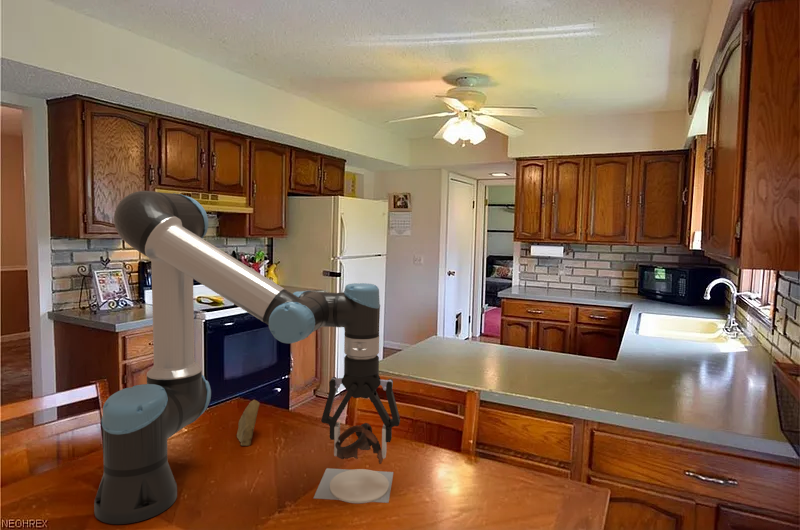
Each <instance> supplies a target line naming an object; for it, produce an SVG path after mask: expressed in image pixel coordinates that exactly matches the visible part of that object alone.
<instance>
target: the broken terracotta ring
mask: <svg viewBox="0 0 800 530" xmlns="http://www.w3.org/2000/svg"><path fill="white" fill-rule="evenodd" d="M353 434H355V435H356V437H357V439H356V440H355V441H354V442H352V443H351V444H349V445H347V446H342V445H343V443H344V441H345V440H346V439H347V438H348V437H350V436H351V435H353ZM338 439H339V440H340V442H339V441H337V442H336V444H335V446H336V448H337V456H336V457H337V458H338V459H340V460H344V459H345V460H347V459H351V458H354V459H356V460H358V459H359V457H358V451H359V450H361V451H370V450H371V449H372V453H373V454H376V458H377V460H378V464H380V465H381V464H382V463H383V460H384V458H382V446H381V444H380V441H379V439H378V437H377V436H376V435H375V434H374V432H373V428H372V426H371V424H370V423H367V422H365V423H361V424H357V425H352V426H351V427H349V428H347V429H345V430H344V431H343V432H342V433H340V436H339V437H338Z"/></svg>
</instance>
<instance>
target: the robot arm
mask: <svg viewBox="0 0 800 530" xmlns="http://www.w3.org/2000/svg"><path fill="white" fill-rule="evenodd" d="M118 202H119V203H118V204H117V205H116V207H115V210H114V215H113V224H114V227H115V230H116V232H117V234H118V235H119V237H120V238H121V239H122V240H123V241H124V242H125V244H127V245H128V246H129V247H131V248H133V249H135V251H137V252H139V253H140V254H142V255H144V256H146V257H147V258H148V259H149V260H150V262H151V264H150V266H151V300H152V308H151V309H152V338H153V339H152V340H153V341H152V342H153V343H152V344H153V348H152V349H153V366H152V367H151V368H150V369H149V370H148V371H147V372H146V383H142V384H136V385H133V386H131V387H126V388H122V389H119V390H118V391H116V392H114V393H113V394H111V395H110V396H109V397H108V398H107V399H106V401H104V404H103V406H102V416H101V420H100V421H101V430H102V458H103V461H102V463H103V475H102V477H101V480H100V483H99V486H98V488H97V489H98V490H97V492H96V495H95V498H94V501H93V502H94V504H93V505H94V506H93V507H94V509H93V510H94V511H93V512H94V516H95V517H94V518H96V519H97V520H98V521H100V522H102V523H105V524H110V525H126V524H134V523H138V522H142V521H145V520H149V519H151V518H155V517H156V516H158V515H160V514H162V513H163V512H165V511H166V510H168V509H169V508H170V507H171V506H173V505H174V503H175V502H176V500H177V498H178V485H177V482H176V479H175V476H174V475H173V471H172V469H171V466H170V464H169V462H168V461H169V460H168V439H170V438H172V436H175V434H177V433H178V432H180V431H181V430H182V429H183V428H185V427H187V426H188V425H191V424H192V423H195V421H197V420H198V419H199V418H200V417H201V416H202V415H203V414H204V413H205V411H206V410H207V409H208V406H209V404H210V402H211V397H212V389H211V385H210V382H209V381H208V380H206V376H204V374H203V373H202V372H203V369H202V367H201V365H200V364H198V363H197V362H195V361H196V360H195V320H194V319H195V318H194V316H195V315H194V314H195V311H194V308H195V307H194V305H195V304H194V281H196V282H198V283H199V284H201V285H203V286H205V287H206V288H208V289H209V290H211V291H213V292H214V293H215V294H217V295H219V296H220V297H222V298H224V299H225V300H227V301H229V302H230V303H232V304H233V305H235V306H237V307H239V308H240V309H241V310H243V311H245V312H247V313H248V314H250V315H251V316H253V317H255V318H256V319H257V320H260V321H261V322H263V323H265V324H266V325H268V329H269V331H270V333H271V334H272V336H273V338H274V339H276V340H277V341H279V342H280V343H283V344H294V343H295V344H296V343H298V342H300V341H303V340H305V339H306V338H308V337H310V335H311V334H312V333H314V332H316V331H317V330H319V329H320V328H322V327H324V328H328V327H329V328H343V329H344V343H343V344H344V349H343V350H344V351H343V352H344V354H345V356H344V357H343V358H344V359H343V361H344V362H343V366H344V367H343V377H339V378H338V377H336V376H332V377H331V379H330V380H329V381H328V382H329V383H328V384H329V392H328V396H327V399H326V401H325V402H326V403H325V406H324V409H323V413H322V416H321V423H322V424H327V425H329V439H330V440H333V441H334V442H333V443H334V444H333V446H334V447H333V455H334V457H337V448H336V446H335V444H336V442H337V441H339V442H340V440H339V439H338V437H339V436H340V435H341V422H337V421H338V420H339V418H340V416H341V414H342V413H343V411H344V410H345V408H346V406H347V405H348V403H349V402H350V400H351V399H352V398H353V399H359V398H362V399H364V400H365V399H369V400H370V402H371V404H372V405H373V407H374V409H375V410H376V412H377V413H378V414H377V415H378V416H379V418H380V420H381V421H382V423H383V425H382V429H381V449H382V458H383V459H386V457H387V443H391V441H392V438H393V436H392V435H393V434H392V433H393V432H392V431H393V430H392V429H393V428H394V427H398V426H400V423H401V417H400V414H399V409H398V406H397V402H396V399H395V398H396V397H395V394H394V391H393V385H394V384H393V383H394V380H393V379H392V378H388V379H381V376H380V373H379V372H380V369H379V367H380V357H379V356H378V354H380V319H381V318H380V317H381V316H380V311H381V304H380V289H379V286H377V285H376V284H373V283H366V282H365V283H363V282H362V283H359V282H358V283H355V282H354V283H348V284H346V285H345V287H344V291H343V292H330V291H329V292H326V291H312V290H305V291H301V290H300V291H294V292H293V293H292V292H291V291H288V290H287V289H285V288H284V287H282V286H281V285H279V284H277V283H276V282H274V281H272V280H271V279H269V277H266V276H264V275H263V274H261V273H260V272H258V271H256V270H255V269H253V268H252V267H249V266H248V265H247V264H244V263H243V262H242V261H240V260H238V259H237V258H235V257H234V256H232V255H230V254H228V253H226V252H225V251H223V250H222V249H220V248H219V247H217V246H215V245H213V244H212V243H210V242H209V241H207V240H205V239H204V237H205V236H206V235H207V233H208V229H209V217H208V214H207V212H206V209H205V208H204V207H203V205H202V204H200V202H199V201H197V200H196V199H194V198H193V197H192V196H188V195H185V194H184V195H183V194H182V193H175V192H173V193H170V192H169V193H168V192H160V191H159V192H158V191H154V190H153V191H152V190H137V191H134V192H131V193H130V194H128V195H126V196H125V197H123V198H122V199H121V200H120V201H118ZM341 384H342V386H343V387H344V388H345V390H346V391H347V392H346V393H345V395H344V397H343V399H342V400H341V402H340V404H339V406H338V407H337V408H336V410H335V412H334V413H333V416H330V415H331V411H332V409H333V408H332V407H333V405H334V401H335V398H336V394H337V392H338V391H337V390H338V389H339V388H340V386H341ZM380 386H381V387H382V390H383V391H385V395H386V400H387V402H388V407H389V409H390V410H389V411H390V414H391V417H390V415H389V413H388V411H387V410H386V408H385V406H384V404H383V402H382V400H381V398H380V396H379V393H378V392H377V389H379V387H380Z"/></svg>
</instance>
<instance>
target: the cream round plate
mask: <svg viewBox="0 0 800 530" xmlns="http://www.w3.org/2000/svg"><path fill="white" fill-rule="evenodd" d="M376 471H377V470H372V469H365V468H356V469H355V468H354V469H348V471H345V472H342V473H339V474H338V475H336V476H335V477H334V478H333V479H332V480H331V482H330V492H331V494H332V495H333V496H334V497H335V498H337V499H339V500H338V501H341V502H345V503H348V504H349V503H350V504H366V503H367V504H368V503H373V502H372V501H375V500H378V499H380V498H382V497H383V496H384V495H385V494H386V493H387V491H388V489H389V482H388V480H387V478H386V477H385V476H384V475H382V474H381V473H378V472H376Z"/></svg>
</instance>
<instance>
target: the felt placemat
mask: <svg viewBox="0 0 800 530" xmlns="http://www.w3.org/2000/svg"><path fill="white" fill-rule="evenodd" d="M348 470H349V469H346V468H345V469H344V468H343V469H342V468H329V467H327V468H326V469H325V471H324V473H323V475H322V478H321V479H320V482H319V484H318V487H317V489H316V491H315V493H314V496H313V499H319V500H336V501H340V500H339V499H337V498H335V497H334V496H333V495H332V494H331V492H330V482H331V480H332V479H333V478H334V477H335V476H336V475H338V474H339V473H342V472H345V471H348ZM375 471H376V472H378V473H381V474H382V475H384V476H385V477H386V478H387V480H388V482H389V489H388V491H387V493H386V494H385V495H384V496H383V497H382V498H380V499H378V500H375V501H372V502H371V503H380V504H381V503H384V504H385V503H386V504H389V501H390V497H391V490H392V484H393V477H394V471H381V470H379V471H378V470H375Z"/></svg>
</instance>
